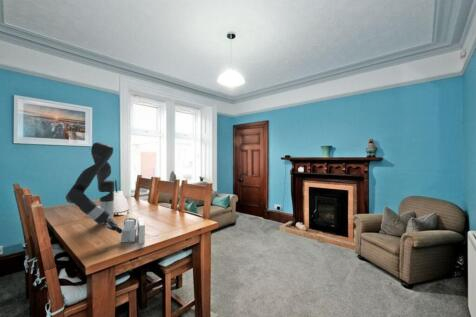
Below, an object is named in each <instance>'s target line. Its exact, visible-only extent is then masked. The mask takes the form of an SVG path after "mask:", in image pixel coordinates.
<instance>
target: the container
mask: <svg viewBox="0 0 476 317" xmlns="http://www.w3.org/2000/svg"><path fill="white" fill-rule="evenodd" d="M136 222H137V219H136V218H133V217H132V218H131V217H130V218H126V219H124V222H123V227H122V228H121V229H122V233H121V238H120V243H132V242H135V241H136V238H137V225H136V224H137V223H136Z"/></svg>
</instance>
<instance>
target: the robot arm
mask: <svg viewBox="0 0 476 317" xmlns="http://www.w3.org/2000/svg"><path fill="white" fill-rule="evenodd" d="M90 152H91V153H90V154H91V157H92V159H93V162H94V164H92V165H90V166H89V167H87V168H85V169H84V170H82V172H81V173H80V175H79V176H78V178H77V179H76V180H75V182H74V184H73V185H72V187H71V188H70V190H69V191H68V192H67V193H66V194H65V199H66V202H68V203H69V204H74V205H76V207H78V208H79V209H80V210H79V211H81V212H82V213H84V214H85V215H87V217H88V218H90V219H91V220H92V221H94V222H95V223H97V225H104V226H105V227H106V228H107V229H109V230H111V231H116V232H117V233H118V234H122V229H123V228H121V227H119V225H118V223H116V221H114V212H115V211H114V209H115V208H114V205H115V204H114V200H115V181H114V179H108V178H109V177H110V176H111V174H112V167H111V166H112V165H111V164H110V163H109V162H108V161H109V160H110V158H111V157H112V156H113V153H114V147H113V146H112V145H109V144H105V143H103V142H99V141H98V142H94V143H93V144H92V146H91V149H90ZM95 177H96V178H97V189H98V192H99V193H108V194H106V195H102V196H100V198H99V205H98V204H97V203H95V202H94V201H93V200H91V199H90V198H89V197H88V195H86V194H85V192H86V190H87V189H89V186H90V185H91V184H92V183H93V180H94V179H95Z"/></svg>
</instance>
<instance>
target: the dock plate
mask: <svg viewBox="0 0 476 317" xmlns="http://www.w3.org/2000/svg"><path fill="white" fill-rule="evenodd" d="M136 222H137V223H136V224H137V225H136V226H137V229H136V236H137V240H138V244H139V245H141V244H145V242H146V241H145V239H146V236H145V235H146V224H145V221H144V218H143V217H137V220H136Z"/></svg>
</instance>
